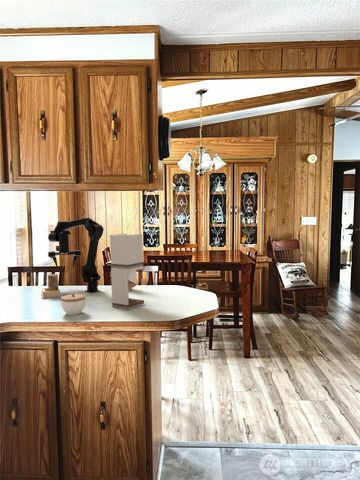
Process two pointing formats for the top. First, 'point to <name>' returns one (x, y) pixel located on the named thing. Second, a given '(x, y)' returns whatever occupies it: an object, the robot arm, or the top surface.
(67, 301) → the lidded jar
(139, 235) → the coffee grinder
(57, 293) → the dock
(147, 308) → the top surface
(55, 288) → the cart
